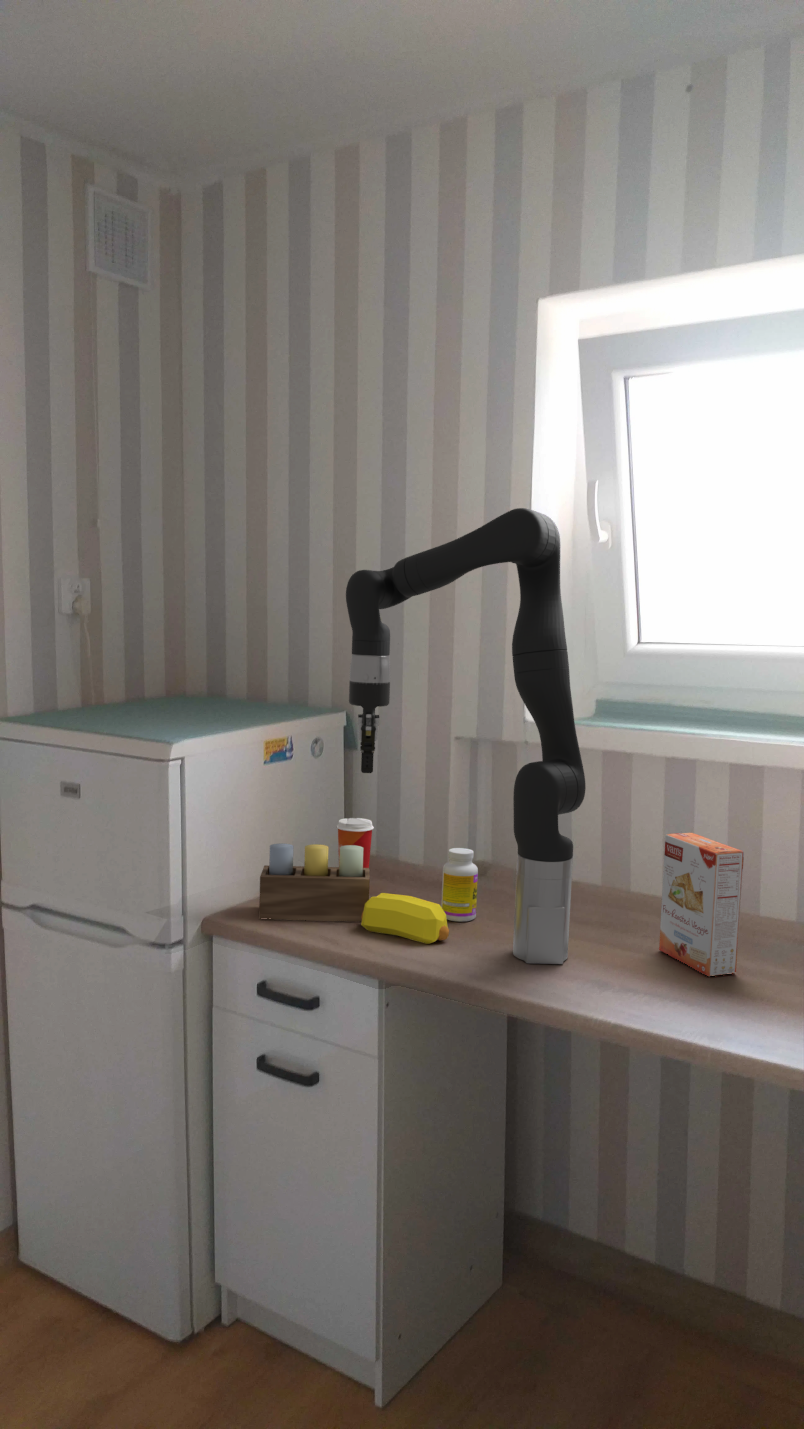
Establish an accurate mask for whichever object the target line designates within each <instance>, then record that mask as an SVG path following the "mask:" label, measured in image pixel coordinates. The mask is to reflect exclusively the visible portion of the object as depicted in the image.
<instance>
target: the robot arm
mask: <svg viewBox="0 0 804 1429" xmlns="http://www.w3.org/2000/svg"><path fill="white" fill-rule="evenodd" d="M505 563H511V564H515V565H516V571H517V574H518V575H517V576H518V584H519V594H520V595H519V596H520V597H519V598H520V599H519V606H518V607H519V608H518V611H517V612H518V614H517V617H516V620H515V625H514V629H513V633H512V634H513V635H512V642H511V656H512V665H513V674H514V675H513V677H514V682H515V685H516V686H515V687H516V689H517V691H518V694H519V696H520V698H521V700H522V702H523V704H524V706H525V707H526V709H527V711H528V712H529V714H530V716H531V717H532V719H533V721H534V723H535V726H536V729H537V731H538V734H539V739H540V744H541V756H542V760H540V761H533V762H529V763H526V764H525V765H523V766H522V767H521V768H520V769H519V770H518V773H517V774H516V777H515V779H514V780H515V781H514V785H513V835H514V839H515V842H516V844H517V845H516V846H517V851H516V852H517V853H516V855H517V857H516V858H517V859H516V874H515V876H516V877H515V879H516V880H515V897H514V917H513V918H514V920H513V943H512V944H513V945H512V954H513V956H515V958H517V959H519V960H522V961H524V962H525V964H545V965H548V964H552V965H563V964H564V961H566V960H567V959H568V956H569V939H570V937H569V936H570V935H569V934H570V919H571V916H570V915H571V914H570V913H571V897H572V880H573V878H572V875H573V863H574V862H573V859H574V858H573V857H574V843H573V841H572V839H570V838H569V837H568V836H565V835H563V834H561V833H560V830H559V815H563V814H564V815H565V814H570V813H572V812H575V811H576V810H578V809H579V808H580V807H581V805H582V804H583V802H584V799H585V796H586V786H587V785H586V775H585V770H584V765H583V761H582V760H583V759H582V755H581V752H580V751H581V750H580V746H579V740H578V736H577V730H576V724H575V715H574V706H573V699H572V697H573V696H572V692H571V691H572V690H571V679H570V664H569V656H568V655H569V653H568V646H567V638H566V629H565V620H564V619H565V618H564V611H563V603H562V594H561V534H560V531H559V529H558V526H557V525H556V522H555V521H554V520H553V519H552V517H549V516H548V515H547V514H544V513H542V512H539V511H536V510H533V509H530V508H524V507H519V508H513V509H511V510H509V511H507V512H504V513H503V514H500V515H499V516H497V517H495V518H493V519H491V520H490V521H489V522H487V523H485V524H483V525H481V526H480V527H478V528H476V529H474V530H473V531H470V532H468V533H467V534H464V535H462V536H459V537H458V538H455V539H454V540H451V541H448V542H446V543H443V544H440V545H438V546H435V547H432V548H430V549H427V550H424V551H421V552H418V553H415V554H413V555H409V556H407V557H404V558H402V559H399V560H398V561H397V562H396V563H395V564H394V566H393V567H390V568H388V569H383V570H370V569H360V570H357V571H355V572H354V573H352V575H351V576H350V578H349V579H348V581H347V584H346V590H345V602H346V603H345V604H346V608H347V613H348V619H349V624H350V627H351V631H352V634H351V637H352V638H351V657H350V658H351V659H350V664H349V679H348V680H349V684H348V685H349V687H348V703H349V705H351V706H355V707H361V708H362V713H361V714H358V715H357V725H358V726H359V727H358V741H360V749H359V750H360V753H361V761H360V762H361V763H360V771H361V773H362V774H372V773H373V772H374V754H375V751H376V743H375V742H377V741H378V728H379V725H380V714H376V708H377V707H379V708H380V707H387V706H389V705H390V700H391V699H390V698H391V696H390V694H391V657H390V653H391V652H390V651H391V650H390V648H391V630H390V627H389V626H388V625H387V624H385V623H383V622H382V619H381V611H380V610H384V609H389V608H393V607H394V606H397V605H399V604H401V603H404V602H405V601H407V600H409V599H410V598H412V597H415V596H419V595H423V594H427V593H428V592H432V591H435V590H437V589H441V588H443V587H445V586H448V585H450V584H452V583H453V582H455V581H456V580H458V579H459V578H461V577H463V576H464V575H466V574H468V573H470V572H472V571H474V570H477V569H480V568H482V567H487V566H492V565H498V564H505Z"/></svg>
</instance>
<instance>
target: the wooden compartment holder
mask: <svg viewBox="0 0 804 1429" xmlns="http://www.w3.org/2000/svg"><path fill="white" fill-rule="evenodd" d="M370 877H371V876H370V867H369V868H363V877H339V866H337V867H336V866H328V876H304V865H302V866H301V865H298V866H297V865H293V875H269V865H264V866H263V868H262V871H261V873H260V875H259V905H258V906H259V910H258V912H259V913H258V914H259V915H258V919H259V920H262V919H261V918H267V919H269V918H271V919H288V920H287V921H305V920H306V921H308V922H309V921H311V922H312V921H313V922H315V921H316V922H317V921H318V922H319V921H320V922H348V923H349V922H354V923H355V922H357V923H358V922H359V923H361V922H362V919H361V916H362V913H363V911H364V906H365V903H366V902H367V901H368V900H369V899H370Z"/></svg>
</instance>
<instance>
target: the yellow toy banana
mask: <svg viewBox="0 0 804 1429" xmlns="http://www.w3.org/2000/svg"><path fill="white" fill-rule="evenodd" d="M361 919H362V922H360V923H361V924H360V925H361V926H362V927H363V928H364V929H365V930H366V931H369V932H373V933H374V932H375V933H378V934H379V933H380V934H386V935H393V936H399V937H401V938H405V939H408V940H412V941H415V942H417V943H423V944H426V945H427V944H432V943H434V942H436V941H445V940H448V937H449V935H450V929H449V926H448V920H447V918H446V914H445V912H444V911H443V909H442V907H441V904H439V903H436V902H433V901H428V900H425V899H422V898H419V897H415V896H411V895H407V894H406V895H405V894H404V895H403V894H396V893H395V894H394V893H387V892H381V893H379V894H378V895H377V896H371V897H369V900H368V901H367V902H366V903H365V906H364V911H363V913H362V916H361Z"/></svg>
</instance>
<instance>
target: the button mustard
mask: <svg viewBox="0 0 804 1429" xmlns="http://www.w3.org/2000/svg"><path fill="white" fill-rule="evenodd" d="M329 849H330V848H329V846H328V845H326V844H316V843H315V844H313V843H312V844H306V845H305V846H304V862H303V864H304V865H303V866H304V876H328V867H329Z"/></svg>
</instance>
